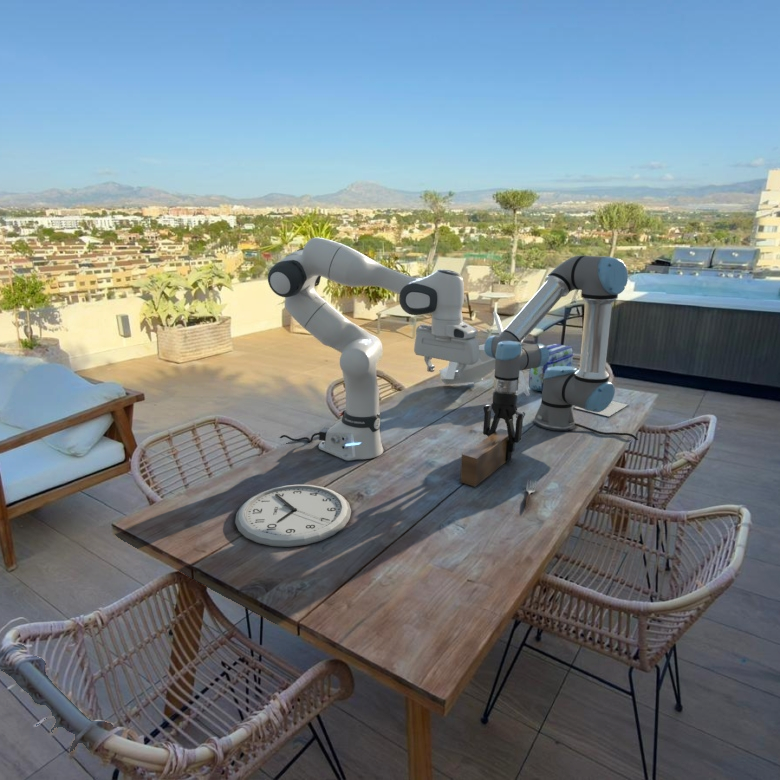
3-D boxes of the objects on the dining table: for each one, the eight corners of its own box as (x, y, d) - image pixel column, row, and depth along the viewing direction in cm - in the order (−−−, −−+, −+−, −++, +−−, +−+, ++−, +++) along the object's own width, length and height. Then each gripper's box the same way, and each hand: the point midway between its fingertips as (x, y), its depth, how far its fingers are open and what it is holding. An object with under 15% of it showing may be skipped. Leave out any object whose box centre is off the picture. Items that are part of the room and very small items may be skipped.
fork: (520, 510, 142) (521, 503, 141) (526, 484, 156) (527, 478, 155) (530, 512, 141) (531, 505, 140) (535, 486, 155) (536, 480, 154)
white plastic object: (461, 429, 252) (437, 405, 227) (444, 352, 274) (420, 323, 250) (535, 404, 240) (518, 377, 215) (510, 326, 262) (492, 293, 237)
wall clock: (351, 538, 125) (223, 542, 122) (351, 544, 125) (223, 548, 123) (350, 480, 153) (246, 482, 151) (350, 485, 154) (246, 487, 151)
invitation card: (608, 416, 214) (573, 407, 224) (608, 416, 214) (573, 408, 224) (628, 404, 229) (594, 396, 238) (628, 405, 229) (594, 397, 238)
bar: (498, 453, 176) (500, 428, 174) (512, 457, 174) (514, 431, 171) (460, 482, 157) (461, 454, 154) (475, 487, 154) (476, 458, 151)
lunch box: (545, 396, 239) (550, 351, 232) (524, 391, 246) (528, 347, 240) (572, 385, 256) (577, 343, 250) (552, 380, 263) (557, 339, 257)
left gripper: (410, 324, 154) (409, 370, 158) (472, 334, 142) (469, 382, 146) (422, 322, 158) (420, 366, 163) (483, 330, 147) (479, 378, 151)
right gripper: (474, 388, 167) (470, 454, 174) (527, 399, 157) (521, 469, 164) (485, 382, 173) (480, 447, 180) (537, 393, 163) (530, 461, 170)
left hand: (444, 374), depth 154 cm, fingers open, 8 cm apart
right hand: (500, 457), depth 172 cm, fingers closed on bar, 5 cm apart
